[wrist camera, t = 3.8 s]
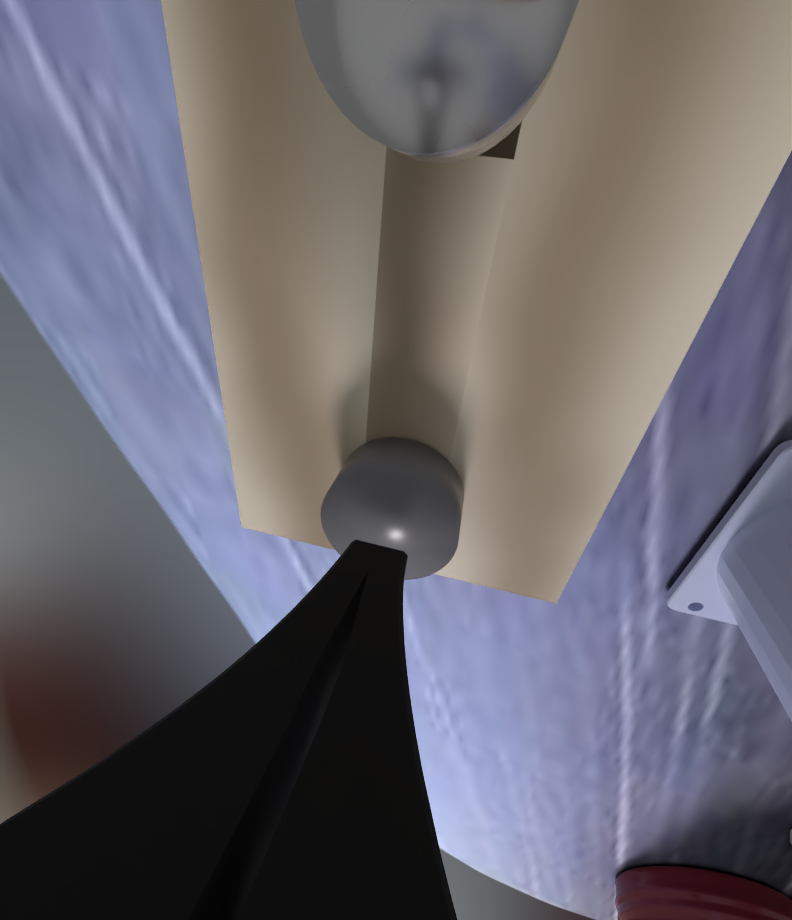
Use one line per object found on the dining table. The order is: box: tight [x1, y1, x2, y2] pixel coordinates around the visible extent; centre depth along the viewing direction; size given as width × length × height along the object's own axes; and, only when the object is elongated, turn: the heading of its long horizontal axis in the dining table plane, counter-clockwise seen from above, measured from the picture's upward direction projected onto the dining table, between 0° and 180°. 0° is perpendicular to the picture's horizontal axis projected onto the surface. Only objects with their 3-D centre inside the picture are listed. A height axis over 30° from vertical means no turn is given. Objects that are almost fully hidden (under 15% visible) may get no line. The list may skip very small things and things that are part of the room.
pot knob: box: [295, 0, 579, 164], centre depth 6 cm, size 3×3×4 cm
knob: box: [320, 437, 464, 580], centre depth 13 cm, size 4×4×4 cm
